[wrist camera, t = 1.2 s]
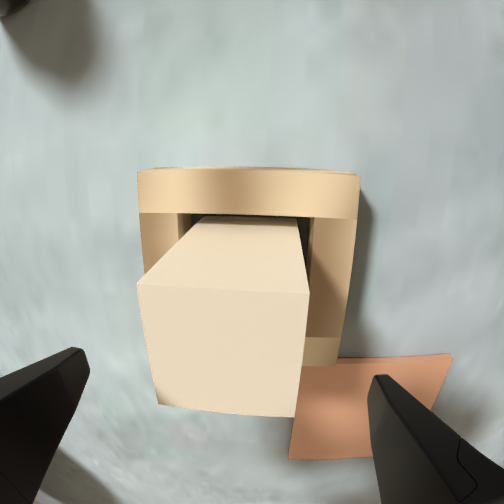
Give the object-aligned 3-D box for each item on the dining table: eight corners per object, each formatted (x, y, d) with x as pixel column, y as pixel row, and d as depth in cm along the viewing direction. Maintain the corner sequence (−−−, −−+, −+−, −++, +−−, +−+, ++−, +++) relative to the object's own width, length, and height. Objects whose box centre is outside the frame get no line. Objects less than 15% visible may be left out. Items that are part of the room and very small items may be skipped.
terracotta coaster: (450, 353, 19) (453, 358, 19) (407, 447, 23) (408, 452, 22) (302, 357, 20) (302, 363, 19) (288, 453, 24) (288, 459, 23)
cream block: (296, 218, 17) (309, 293, 9) (291, 302, 19) (294, 417, 10) (204, 215, 18) (136, 283, 9) (206, 298, 19) (158, 403, 11)
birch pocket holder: (349, 171, 16) (360, 176, 14) (330, 342, 19) (335, 366, 17) (155, 167, 17) (137, 172, 15) (168, 332, 20) (156, 354, 18)
